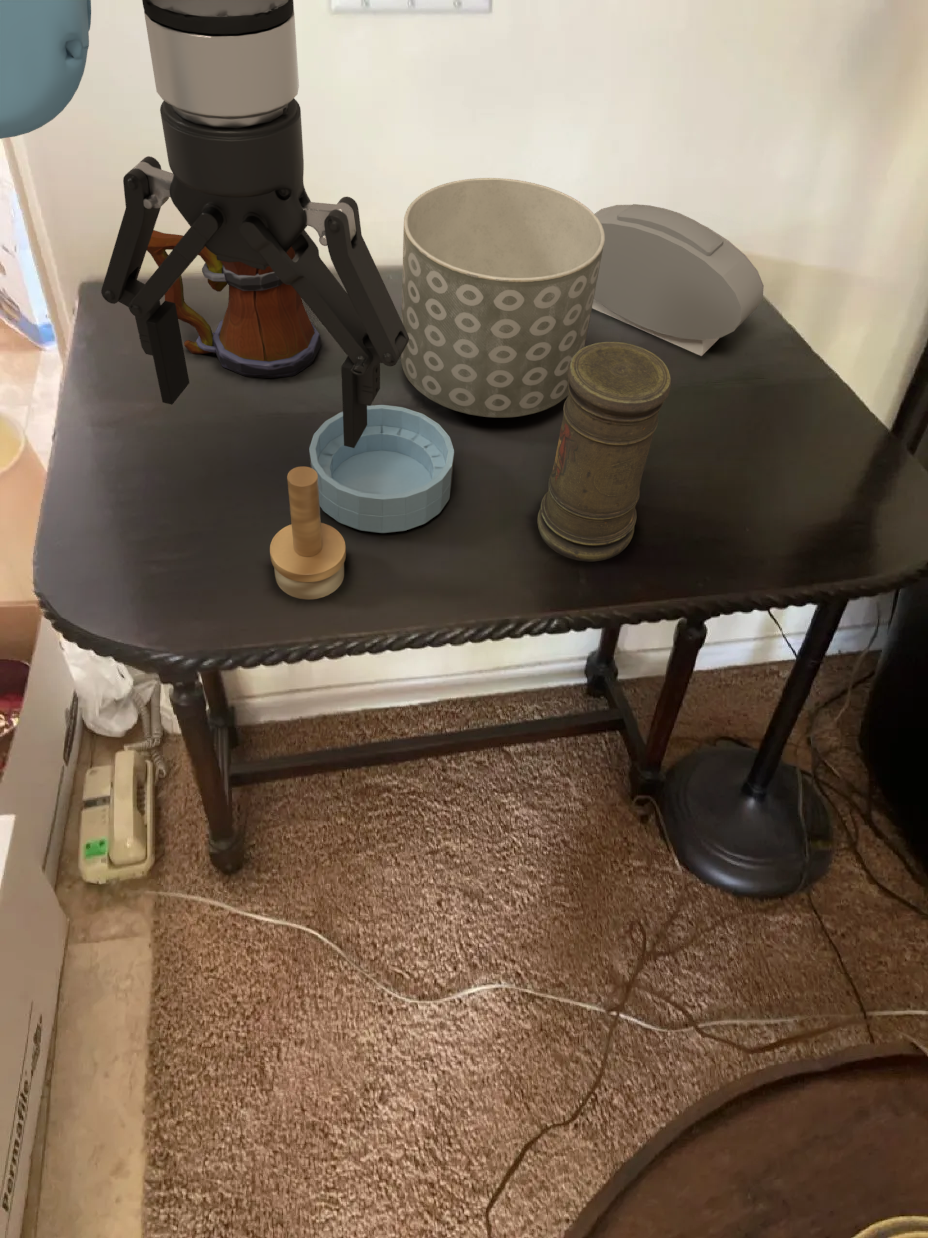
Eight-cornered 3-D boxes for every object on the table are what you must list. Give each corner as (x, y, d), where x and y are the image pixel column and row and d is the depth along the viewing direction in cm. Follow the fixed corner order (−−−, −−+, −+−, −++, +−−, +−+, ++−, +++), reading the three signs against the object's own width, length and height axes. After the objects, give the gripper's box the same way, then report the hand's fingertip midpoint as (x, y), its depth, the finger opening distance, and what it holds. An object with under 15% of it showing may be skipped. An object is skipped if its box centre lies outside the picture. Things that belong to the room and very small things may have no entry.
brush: (276, 606, 83) (264, 507, 74) (270, 552, 87) (258, 453, 78) (351, 597, 84) (348, 499, 75) (341, 545, 88) (337, 446, 79)
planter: (581, 347, 111) (610, 192, 97) (567, 453, 98) (599, 292, 84) (417, 323, 111) (423, 166, 98) (384, 425, 99) (385, 261, 85)
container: (647, 522, 93) (694, 363, 79) (604, 578, 87) (647, 419, 74) (565, 484, 95) (597, 324, 82) (519, 536, 90) (545, 375, 76)
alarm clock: (747, 347, 113) (782, 244, 103) (724, 370, 110) (758, 267, 100) (578, 274, 121) (596, 172, 111) (552, 294, 117) (568, 191, 108)
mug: (149, 386, 101) (120, 252, 89) (155, 323, 108) (129, 191, 96) (323, 381, 103) (317, 250, 92) (318, 320, 110) (311, 191, 99)
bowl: (321, 545, 88) (318, 505, 84) (305, 451, 96) (302, 410, 92) (463, 531, 90) (467, 491, 86) (435, 440, 98) (438, 400, 94)
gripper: (469, 112, 53) (448, 421, 69) (57, 33, 56) (129, 347, 72) (430, 171, 48) (417, 488, 65) (-19, 81, 51) (76, 405, 68)
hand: (264, 414), depth 69 cm, fingers open, 13 cm apart
